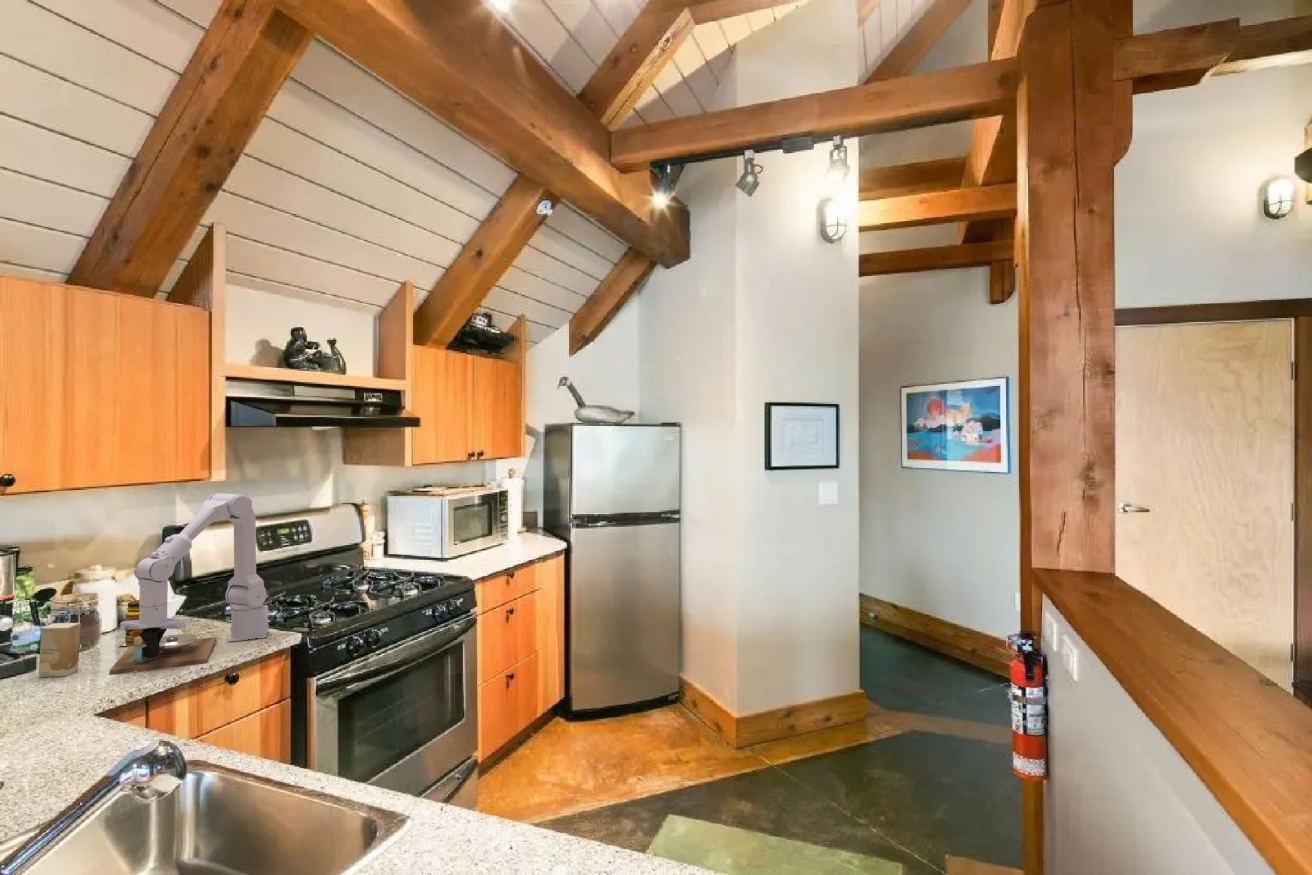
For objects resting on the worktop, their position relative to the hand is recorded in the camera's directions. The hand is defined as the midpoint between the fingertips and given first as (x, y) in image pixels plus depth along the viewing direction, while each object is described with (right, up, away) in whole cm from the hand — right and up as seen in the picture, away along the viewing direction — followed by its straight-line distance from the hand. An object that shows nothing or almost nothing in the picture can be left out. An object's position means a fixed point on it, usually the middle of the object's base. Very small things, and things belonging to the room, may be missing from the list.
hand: (152, 656), depth 165 cm
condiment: (-18, -3, +19) cm, 27 cm away
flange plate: (-1, -1, +6) cm, 6 cm away
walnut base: (-1, -3, +8) cm, 8 cm away
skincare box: (-19, -2, -6) cm, 20 cm away
